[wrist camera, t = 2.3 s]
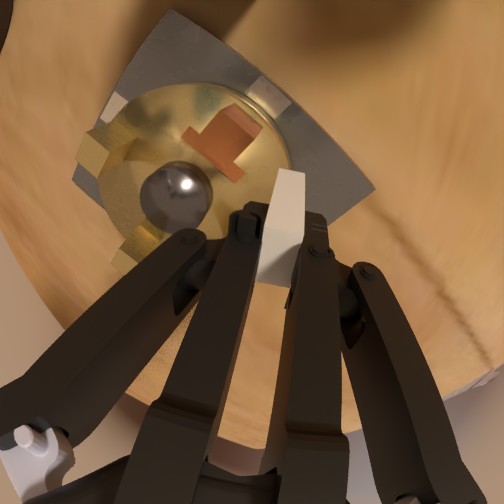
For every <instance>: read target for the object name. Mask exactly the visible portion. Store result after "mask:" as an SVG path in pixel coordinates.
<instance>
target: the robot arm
mask: <svg viewBox="0 0 504 504" xmlns="http://www.w3.org/2000/svg"><path fill="white" fill-rule="evenodd" d="M12 6H13V0H0V50H1V48H2V45H3V42H4V39H5V36H6V33H7V30H8V26H9V22H10V18H11V13H12ZM255 281H258V282H262V283H267V284H272V285H277V286H282V287H288V288H289V287H290V284H291V287H290V291H289V294H288V297H287V301H286V304H285V307H284V309H286V316H285V324H284V332H283V339H282V347H281V354H280V361H279V368H278V375H277V382H276V389H275V395H274V401H273V408H272V414H271V420H270V426H269V432H268V437H267V443H266V448H265V452H264V455H263V457H262V461H261V465H260V469H259V474H258V475H255V476H237V475H234V474H232V473H230V472H228V471H225V470H223V469H221V468H219V467H217V466H215V465H213V464H211V460H212V457H213V452H214V448H215V443H216V438H217V434H218V430H219V426H220V422H221V419H222V415H223V411H224V407H225V403H226V399H227V395H228V391H229V387H230V383H231V379H232V375H233V371H234V367H235V363H236V359H237V355H238V351H239V347H240V343H241V338H242V334H243V330H244V326H245V322H246V318H247V314H248V310H249V306H250V301H251V297H252V293H253V289H254V283H255ZM198 300H199V302H198ZM197 302H198V304H197V307H196V309H195V311H194V314H193V316H192V319H191V321H190V323H189V326H188V328H187V331H186V333H185V336H184V338H183V341H182V343H181V346H180V348H179V351H178V353H177V355H176V358H175V361H174V363H173V366H172V368H171V371H170V373H169V376H168V378H167V381H166V383H165V386H164V389H163V391H162V393H161V396H160V397H159V398H158V399H157V400H155V401H153V402H152V404H151V405H150V406H149V408H148V410H147V412H146V415H145V417H144V420H143V422H142V425H141V428H140V430H139V433H138V436H137V439H136V441H135V444H134V446H133V449H132V452H131V454H130V455H127V456H124V457H122V458H120V459H118V460H116V461H114V462H112V463H110V464H108V465H106V466H104V467H102V468H100V469H98V470H96V471H94V472H92V473H90V474H88V475H86V476H84V477H82V478H79V479H77V480H75V481H73V482H71V483H68V484H66V485H64V486H62V479H63V477H64V475H65V474H66V472H67V471H68V470H69V469H70V468H71V467H73V466H74V464H75V457H74V453H73V448H74V447H76V446H77V445H79V444H80V443H81V442H83V441H84V440H85V439H86V438H87V437H88V436H89V435H90V434H91V433H92V432H93V431H94V430H95V429H96V427H97V426H98V425H99V424H100V423H101V421H102V420H103V419H104V418H105V416H106V415H107V414H108V412H109V411H110V410H111V409H112V407H113V406H114V405H115V404H116V402H117V401H118V400H119V398H120V397H121V396H122V395H123V394H124V392H125V391H126V390H127V388H128V387H129V386H130V385H131V383H132V382H133V381H134V380H135V378H136V377H137V376H138V375H139V373H140V372H141V371H142V370H143V368H144V367H145V366H146V365H147V363H148V362H149V361H150V360H151V358H152V357H153V356H154V355H155V353H156V352H157V351H158V350H159V349H160V347H161V346H162V345H163V344H164V342H165V341H166V340H167V339H168V337H169V336H170V335H171V334H172V332H173V331H174V330H175V329H176V327H177V326H178V325H179V324H180V323H181V321H182V320H183V319H184V318H185V316H186V315H187V314H188V313H189V312H190V310H191V309H192V308H193V307H194V305H195V304H196V303H197ZM341 351H342V354H343V358H344V361H345V364H346V368H347V371H348V375H349V379H350V382H351V386H352V389H353V393H354V397H355V401H356V404H357V408H358V412H359V416H360V420H361V424H362V428H363V432H364V436H365V441H366V445H367V449H368V454H369V458H370V463H371V467H372V472H373V477H374V481H375V485H376V489H377V492H378V494H379V497H380V500H381V502H382V504H487V501H486V498H485V496H484V494H483V493H482V491H481V490H480V488H479V486H478V485H477V483H476V482H475V480H474V479H473V477H472V475H471V474H470V472H469V471H468V469H467V468H466V466H465V465H464V463H463V462H462V460H461V457H460V453H459V450H458V446H457V443H456V440H455V436H454V433H453V430H452V427H451V424H450V421H449V418H448V415H447V412H446V409H445V407H444V404H443V401H442V399H441V396H440V393H439V391H438V388H437V386H436V383H435V381H434V378H433V376H432V373H431V371H430V368H429V366H428V364H427V361H426V359H425V357H424V355H423V352H422V350H421V348H420V346H419V344H418V341H417V339H416V337H415V335H414V333H413V331H412V329H411V327H410V325H409V323H408V321H407V319H406V317H405V315H404V313H403V311H402V309H401V307H400V305H399V303H398V301H397V299H396V297H395V295H394V293H393V291H392V290H391V288H390V286H389V284H388V282H387V280H386V279H385V277H384V275H383V273H382V272H381V271H380V269H378V268H377V267H376V266H374V265H373V264H371V263H367V262H357V263H355V264H354V265H353V267H352V268H351V267H349V266H346V265H344V264H342V263H340V262H339V261H337V260H336V259H335V254H334V252H333V250H332V249H331V248H330V247H329V239H328V229H327V220H326V219H325V218H324V216H323V215H322V214H319V213H314V212H309V211H305V173H301V172H296V171H291V170H286V169H281V168H279V171H278V175H277V179H276V182H275V186H274V190H273V194H272V198H271V201H270V204H266V203H260V202H255V201H249V202H248V203H246V204H245V205H244V207H243V209H242V210H237V211H234V212H232V213H231V214H230V215H229V226H228V235H227V237H225V238H221V239H207V237H206V235H205V233H204V232H202V231H200V230H198V229H194V228H185V229H181V230H179V231H177V232H175V233H174V234H173V235H171V236H170V237H169V238H168V239H167V240H165V241H164V242H163V243H162V244H161V245H159V246H158V247H157V248H156V249H155V250H153V251H152V252H151V253H150V254H149V255H148V256H146V257H145V258H144V259H143V260H142V261H141V262H139V263H138V264H137V265H136V266H135V267H134V268H133V269H131V270H130V271H129V272H128V273H127V274H126V275H125V276H123V277H122V278H121V279H120V280H119V281H118V282H117V283H116V284H115V285H113V286H112V287H111V288H110V289H109V290H108V291H107V292H106V293H105V294H104V295H102V296H101V297H100V298H99V299H98V300H97V301H96V302H95V303H94V304H93V305H92V306H91V307H90V308H89V309H88V310H86V311H85V312H84V313H83V314H82V315H81V316H80V317H79V318H78V319H77V320H76V321H75V322H74V323H73V324H72V325H71V326H70V327H69V328H68V329H67V330H66V331H65V332H64V333H63V334H62V335H61V336H60V337H59V338H58V339H57V340H56V341H55V342H54V343H53V344H52V345H51V346H50V347H49V348H48V349H47V350H46V351H45V352H44V353H43V354H42V355H41V357H40V358H39V359H38V360H37V361H36V362H35V363H34V364H33V365H32V366H31V367H30V369H28V371H27V372H26V373H25V374H24V375H23V376H21V377H19V378H18V379H16V380H14V381H12V382H10V383H9V384H7V385H5V386H3V387H1V388H0V457H1V460H2V462H3V465H4V467H5V469H6V471H7V473H8V476H9V478H10V480H11V482H12V484H13V486H14V488H15V490H16V492H17V494H18V496H19V497H20V499H21V501H22V503H23V504H350V503H349V502H348V501H347V499H346V494H347V483H348V468H349V453H350V450H349V441H348V438H347V437H346V436H345V435H344V434H343V433H342V430H341V407H342V363H341Z"/></svg>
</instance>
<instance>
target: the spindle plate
mask: <svg viewBox="0 0 504 504" xmlns="http://www.w3.org/2000/svg"><path fill="white" fill-rule="evenodd" d="M192 82H201V83H211V84H216V85H220V86H224V87H227V88H229V89H232V90H235V91H237V92H239V93H240V94H242V95H244V96H246V97H248V98H249V99H250V100H252V101H253V102H254V103H256V104H257V105H258V106H260V107H261V108H262V109H263V110H264V111H265V112H266V113H267V114H268V115H269V117H270V118H271V119H272V121H273V122H274V123H275V125H276V126H277V127H278V129H279V131H280V133H281V135H282V136H283V138H284V140H285V143H286V146H287V148H288V151H289V155H290V160H291V164H292V171H296V172H301V173H305V211H309V212H314V213H319V214H322V215H323V216H324V218H325V219H326V220H327V226H328V225H330V224H331V223H332V222H334V221H335V220H336V219H338V218H339V217H340V216H342V215H343V214H344V213H346V212H347V211H348V210H349V209H351V208H352V207H353V206H355V205H356V204H357V203H359V202H360V201H361V200H363V199H364V198H365V197H366V196H368V195H369V194H370V193H372V192H373V191H374V190H376V189H375V187H374V186H373V184H372V183H371V182H370V180H369V179H368V178H367V177H366V176H365V174H364V173H363V172H362V171H361V170H360V168H359V167H358V166H357V165H356V164H355V163H354V161H353V160H352V159H351V158H350V157H349V156H348V155H347V153H346V152H345V151H344V150H343V149H342V148H341V147H340V146H339V145H338V144H337V142H336V141H335V140H334V139H333V138H332V137H331V136H330V135H329V134H328V133H327V132H326V131H325V130H324V129H323V128H322V127H321V126H320V125H319V124H318V123H317V122H316V121H315V120H314V119H313V118H312V117H311V116H310V115H309V114H308V113H307V112H306V111H305V110H304V109H303V108H302V107H301V106H300V105H299V104H298V103H297V102H296V101H295V100H294V99H292V98H291V97H290V96H289V95H288V94H287V93H286V92H285V91H284V90H283V89H281V88H280V87H279V86H278V85H277V84H276V83H275V82H273V81H272V80H271V79H270V78H269V77H268V76H266V75H265V74H264V73H263V72H262V71H260V70H259V69H258V68H257V67H256V66H254V65H253V64H252V63H251V62H249V61H248V60H247V59H245V58H244V57H243V56H242V55H240V54H239V53H238V52H236V51H235V50H234V49H232V48H231V47H230V46H228V45H227V44H226V43H224V42H223V41H221V40H220V39H219V38H217V37H216V36H214V35H213V34H211V33H210V32H208V31H207V30H206V29H204V28H203V27H201V26H199V25H198V24H196V23H195V22H193V21H192V20H190V19H189V18H187V17H185V16H184V15H182V14H180V13H179V12H177V11H175V10H173V9H169V10H168V11H167V12H166V14H165V15H164V16H163V17H162V19H161V20H160V21H159V22H158V24H157V25H156V26H155V27H154V29H153V30H152V31H151V33H150V34H149V35H148V37H147V38H146V40H145V41H144V42H143V44H142V45H141V47H140V48H139V50H138V51H137V52H136V54H135V55H134V57H133V58H132V60H131V61H130V63H129V65H128V66H127V68H126V69H125V71H124V73H123V74H122V76H121V77H120V79H119V81H118V82H117V84H116V86H115V88H114V89H113V91H112V93H111V95H110V96H109V98H108V100H107V102H106V104H105V106H104V108H103V110H102V112H101V113H100V115H99V117H98V119H97V122H96V124H95V126H94V128H96V127H99V126H101V125H104V124H106V123H108V122H111V121H112V119H113V118H114V117H115V116H116V115H117V113H118V112H119V111H120V110H121V109H122V108H123V107H124V106H126V105H127V104H128V103H129V102H130V101H132V100H133V99H135V98H137V97H138V96H140V95H142V94H144V93H146V92H148V91H151V90H154V89H157V88H161V87H165V86H170V85H176V84H182V83H192ZM94 128H93V129H94ZM72 181H74V182H75V183H76V184H77V185H78V186H79V187H80V188H81V189H82V190H84V191H85V192H86V193H87V194H88V195H89V196H90V197H92V198H93V199H94V200H95V201H96V202H97V203H99V204H100V205H101V206H102V207H103V208H104V209H106V208H105V206H104V204H103V201H102V198H101V195H100V191H99V186H98V179H97V178H96V177H95V176H93V175H92V174H91V173H90V172H89V171H88V170H86V169H85V168H84V167H83V166H82V165H81V164H80V163H79V162H78V165H77V167H76V170H75V172H74V175H73V178H72Z"/></svg>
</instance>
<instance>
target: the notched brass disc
mask: <svg viewBox="0 0 504 504" xmlns="http://www.w3.org/2000/svg"><path fill="white" fill-rule="evenodd" d="M75 160H76V161H77V162H79V163H80V164H81V165H82V166H83V167H84V168H85V169H86V170H88V171H89V172H90V173H91V174H92V175H93V176H95V177H96V178H97V179H98V186H99V191H100V195H101V198H102V201H103V204H104V206H105V208H106V211H107V213H108V215H109V217H110V218H111V220H112V221H113V223H114V225H115V226H116V228H117V229H118V230H119V231H120V233H121V234H122V235H123V236H124V237H125V238H126V241H125V242H124V243H123V244H122V245H121V246H120V248H119V249H118V251H117V253H116V254H115V256H114V258H113V259H112V261H111V263H110V264H111V265H112V266H113V267H114V268H116V269H117V270H118V271H119V272H121V273H122V274H123V275H124V276H125V275H126V274H127V273H128V272H129V271H130V270H131V269H133V268H134V267H135V266H136V265H137V264H138V263H139V262H141V261H142V260H143V259H144V258H145V257H146V256H148V255H149V254H150V253H151V252H152V251H153V250H155V249H156V248H157V247H158V246H159V245H161V244H162V243H163V242H164V241H165V240H167V239H168V238H169V237H170V236H171V235H173V234H174V233H175V232H177V231H179V230H181V229H185V228H194V229H198V230H200V231H202V232H204V233H205V235H206V237H207V239H221V238H225V237H227V235H228V226H229V215H230V214H231V213H232V212H234V211H237V210H242V209H243V207H244V205H245V204H246V203H248V202H249V201H255V202H260V203H266V204H270V201H271V198H272V194H273V190H274V186H275V182H276V179H277V175H278V171H279V168H281V169H286V170H291V171H292V164H291V160H290V155H289V151H288V148H287V146H286V143H285V140H284V138H283V136H282V135H281V133H280V131H279V129H278V127H277V126H276V125H275V123H274V122H273V121H272V119H271V118H270V117H269V115H268V114H267V113H266V112H265V111H264V110H263V109H262V108H261V107H260V106H258V105H257V104H256V103H254V102H253V101H252V100H250V99H249V98H248V97H246V96H244V95H242V94H240V93H239V92H237V91H235V90H232V89H229V88H227V87H224V86H220V85H216V84H211V83H201V82H192V83H182V84H176V85H170V86H165V87H161V88H157V89H154V90H151V91H148V92H146V93H144V94H142V95H140V96H138V97H137V98H135V99H133V100H132V101H130V102H129V103H128V104H127V105H126V106H124V107H123V108H122V109H121V110H120V111H119V112H118V113H117V115H116V116H115V117H114V118H113V119H112V121H111V122H108V123H106V124H104V125H101V126H99V127H96V128H94V129H92V130H90V131H87V132H86V133H85V135H84V138H83V140H82V142H81V145H80V147H79V150H78V152H77V155H76V157H75Z"/></svg>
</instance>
